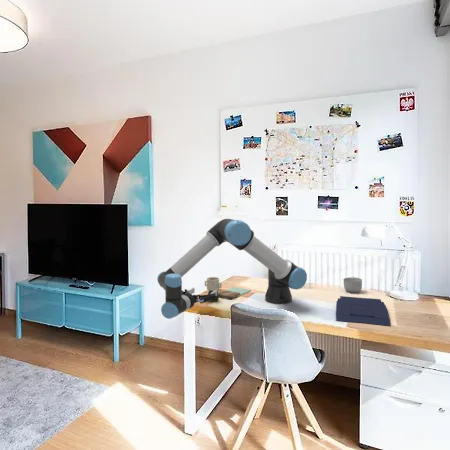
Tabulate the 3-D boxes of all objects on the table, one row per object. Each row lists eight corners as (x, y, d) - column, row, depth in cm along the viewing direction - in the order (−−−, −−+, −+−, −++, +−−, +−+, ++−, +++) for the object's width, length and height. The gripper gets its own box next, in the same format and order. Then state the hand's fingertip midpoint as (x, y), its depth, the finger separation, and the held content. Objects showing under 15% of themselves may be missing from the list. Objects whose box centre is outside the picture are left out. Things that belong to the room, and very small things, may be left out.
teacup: (359, 295, 216) (359, 281, 215) (340, 292, 222) (341, 279, 221) (364, 289, 228) (365, 277, 227) (347, 287, 234) (347, 275, 233)
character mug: (224, 300, 207) (224, 278, 206) (218, 304, 201) (218, 280, 200) (208, 297, 212) (208, 276, 211) (201, 301, 206) (201, 278, 205)
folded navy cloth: (384, 304, 195) (384, 297, 194) (390, 331, 167) (391, 324, 166) (336, 300, 202) (336, 294, 201) (335, 325, 174) (335, 318, 173)
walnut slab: (240, 296, 215) (240, 292, 215) (231, 300, 208) (231, 296, 208) (218, 292, 224) (218, 288, 224) (209, 295, 217) (209, 292, 217)
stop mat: (251, 290, 227) (251, 289, 226) (240, 295, 217) (240, 294, 217) (233, 287, 234) (233, 286, 234) (222, 292, 224) (222, 291, 224)
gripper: (163, 306, 183) (185, 295, 203) (207, 313, 173) (225, 300, 192) (163, 291, 183) (184, 282, 202) (207, 297, 172) (225, 287, 191)
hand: (205, 291), depth 197 cm, fingers open, 13 cm apart
